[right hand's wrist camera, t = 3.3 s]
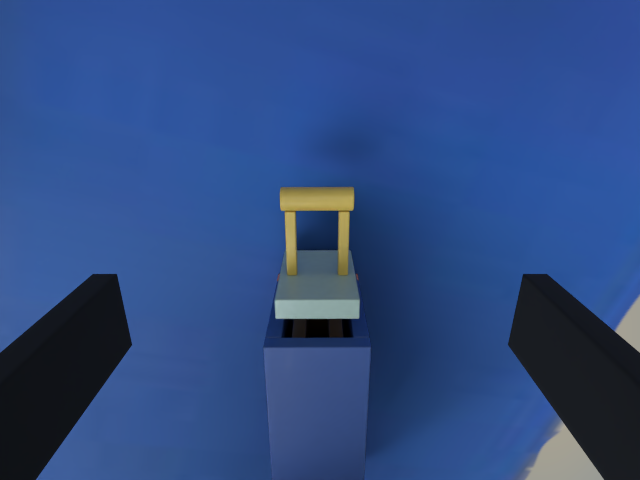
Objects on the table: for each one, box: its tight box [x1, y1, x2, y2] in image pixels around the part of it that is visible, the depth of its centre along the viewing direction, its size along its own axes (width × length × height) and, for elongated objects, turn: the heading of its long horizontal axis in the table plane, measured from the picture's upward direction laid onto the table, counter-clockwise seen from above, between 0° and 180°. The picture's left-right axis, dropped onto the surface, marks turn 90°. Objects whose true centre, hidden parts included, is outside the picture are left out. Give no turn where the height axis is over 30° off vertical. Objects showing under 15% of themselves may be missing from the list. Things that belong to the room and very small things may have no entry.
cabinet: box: [263, 274, 371, 480], centre depth 28 cm, size 19×6×8 cm, turn 0°
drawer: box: [275, 187, 360, 338], centre depth 26 cm, size 23×4×7 cm, turn 0°
